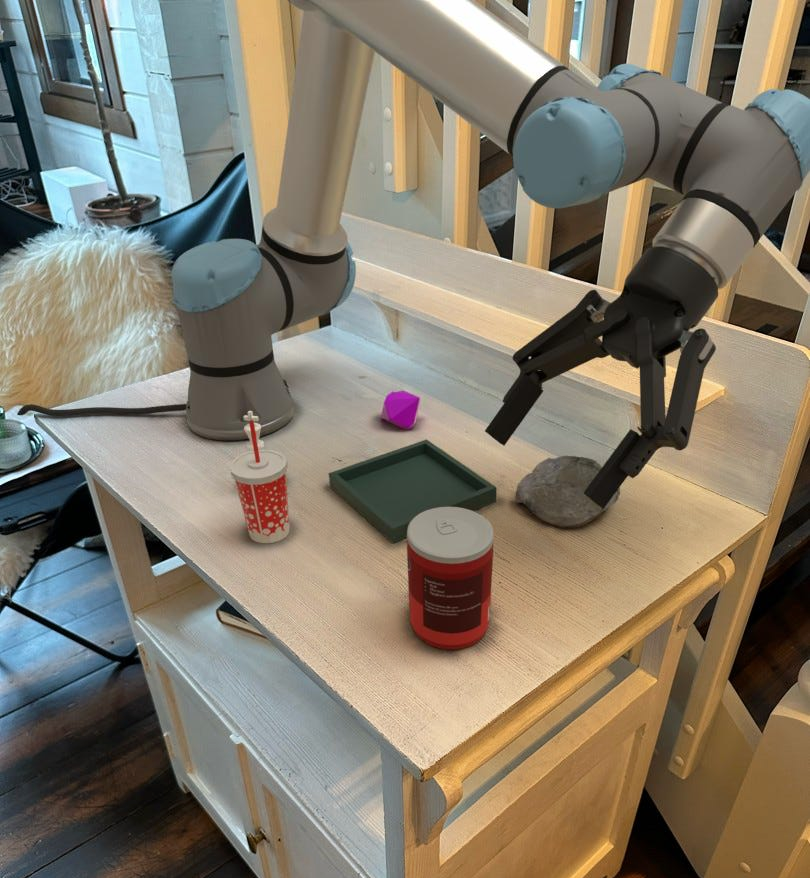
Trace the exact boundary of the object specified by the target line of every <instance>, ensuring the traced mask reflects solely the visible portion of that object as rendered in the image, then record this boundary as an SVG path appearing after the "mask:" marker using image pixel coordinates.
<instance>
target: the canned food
mask: <svg viewBox="0 0 810 878" xmlns="http://www.w3.org/2000/svg"><path fill="white" fill-rule="evenodd" d="M494 537H495V536H494V529H493V526H492V524H491V522H489V520H488V519H487V518H485V516H483V515H481V514H480V513H478V512H476V511H475V510H474V511H471V510H468V509H464V508H459V507H438V508H433V509H430V510H426V511H424V512H422V513H420V514H418V515H417V516H416V517H414V518H413V519H412V521H411V522H410V524H409V526H408V530H407V538H406V556H407V557H406V558H407V559H406V560H407V583H408V584H407V585H408V607H409V609H408V610H409V621H410V623H411V626H412V628H413V630H414V631H413V632H414V633H415V634H416V636H417V637H418V638H419V639H420V640H421V641H422V642H424V643H426V644H428V645H429V646H432V647H434V648H438V649H443V650H461V649H465V648H468V647H471V646H473V645H474V644H477V643H478V642H479V641H480V640H481V639H482V638H483V637H484V635H485V634H486V632H487V630H488V628H489V624H490V620H491V619H490V617H491V603H492V602H491V600H492V584H493V583H492V582H493V566H494V565H493V564H494V543H495V542H494V540H495V539H494Z"/></svg>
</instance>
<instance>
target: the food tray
mask: <svg viewBox="0 0 810 878" xmlns="http://www.w3.org/2000/svg"><path fill="white" fill-rule="evenodd" d="M328 479H329V487H330V489H332V490H333V491H334V492H335V493H336V494H337V495H339V496H340V497H341V498H342V499H343V500H344V501H345V502H346V503H347V504H348V505H350V506H351V507H352V508H353V509H354V510H355V511H356V512H357V513H359V514H360V515H361V516H362V517H363V518H364V519H365V520H366V521H367V522H368V523H370V524H371V525H372V526H373V527H374V528H375V529H376V530H377V531H378V532H380V533H381V534H382V535H383V536H384V537H385V538H387V540H388V541H389V542H391V543H392V544H395V543H398V542H400V541H402V540H405V539H407V530H408V526H409V524H410V522H411V521H412V519H413V518H414V517H416V516H417V515H418V514H420V513H422V512H424V511H426V510H430V509H433V508H438V507H459V508H464V509H468V510H471V511H474V512H475V511H476V510H478V509H481V508H483V507H485V506H488V505H491V504H494V503H495V502H497V491H498V489H497V486H496V485H494V484H492V483H491V482H490V481H488V480H487V479H485V478H484V477H482V476H481V475H479V474H478V473H477V472H475V471H473V470H472V469H471V468H469V467H468V466H466V465H465V464H463V463H462V462H460V461H459V460H457V459H456V458H455V457H453V456H452V455H450V454H449V453H447V452H446V451H444V450H443V449H441V448H440V447H438V445H435V444H434V443H433V442H431V441H430V440H429V439H424V440H423V439H422V440H419V441H418V442H415V443H412V444H409V445H406V446H403V447H401V448H397V449H395V450H392V451H389V452H386V453H383V454H380V455H377V456H375V457H374V456H373V457H372V458H368V459H365V460H363V461H359V462H357V463H354V464H351V465H348V466H345V467H342V468H340V469H336V470H334V471H331V472H328Z"/></svg>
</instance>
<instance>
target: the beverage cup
mask: <svg viewBox="0 0 810 878" xmlns="http://www.w3.org/2000/svg"><path fill="white" fill-rule="evenodd" d="M249 424H250V430H251V436H252V442H253V448H254V451H252V450H250V451H246V452H243V453H242V454H239V455H237V456H236V457H235V458H233V460H232V461H230V464H229V467H228V468H229V471H230V475H231V477H232V479H233V480H234V482H235V486H236V489H237V494H238V497H239V501H240V505H241V509H242V513H243V516H244V520H245V524H246V528H247V531H248V534H249V535H248V536H249V538H250V539H251V540H252V541H254V542H255V543H259V544H274V543H277V542H281V541H282V540H283V539H285V538H286V537H287V536H288V535H289V534H290V530H291V529H290V512H289V498H288V486H287V485H288V484H287V471H288V459H287V458H286V456H285V455H284V454H283V453H282V452H279V451H277V450H272V449H260V450H258V445H257V438H256V432H255V426H254V421H253V420H250V421H249Z"/></svg>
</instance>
